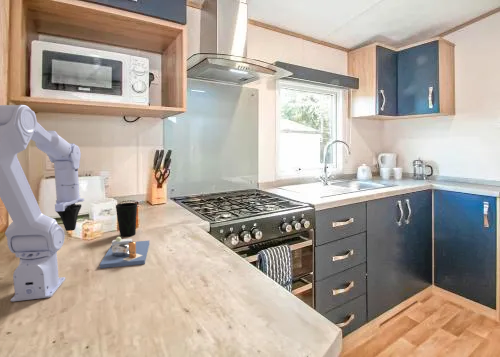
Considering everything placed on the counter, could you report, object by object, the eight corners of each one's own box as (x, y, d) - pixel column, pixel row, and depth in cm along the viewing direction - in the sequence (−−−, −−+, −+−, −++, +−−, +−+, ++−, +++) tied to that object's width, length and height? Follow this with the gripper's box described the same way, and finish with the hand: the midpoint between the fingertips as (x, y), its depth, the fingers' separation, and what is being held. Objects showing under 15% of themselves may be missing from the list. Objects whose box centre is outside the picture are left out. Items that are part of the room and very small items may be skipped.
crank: (108, 254, 88) (108, 240, 87) (123, 249, 92) (122, 236, 92) (127, 260, 83) (126, 245, 83) (141, 254, 88) (141, 240, 87)
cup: (130, 238, 107) (129, 207, 106) (112, 237, 108) (111, 206, 107) (142, 232, 114) (141, 203, 113) (125, 231, 116) (124, 202, 115)
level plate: (144, 264, 84) (144, 250, 84) (100, 268, 81) (99, 254, 80) (149, 243, 101) (149, 232, 101) (112, 246, 98) (112, 235, 98)
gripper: (74, 187, 77) (77, 236, 78) (89, 181, 91) (92, 222, 92) (44, 188, 75) (48, 238, 76) (64, 181, 89) (67, 224, 90)
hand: (70, 229), depth 84 cm, fingers closed
